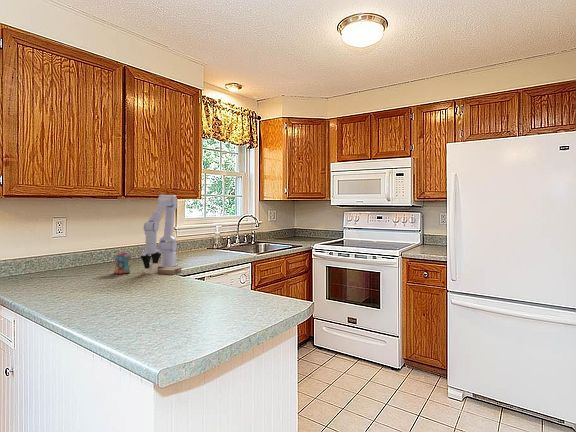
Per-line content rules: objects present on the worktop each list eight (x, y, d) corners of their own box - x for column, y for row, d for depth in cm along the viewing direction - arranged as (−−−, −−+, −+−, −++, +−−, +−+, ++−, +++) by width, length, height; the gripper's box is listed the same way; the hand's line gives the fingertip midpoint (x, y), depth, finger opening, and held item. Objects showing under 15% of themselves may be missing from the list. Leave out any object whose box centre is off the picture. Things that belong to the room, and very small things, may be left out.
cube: (149, 271, 207) (149, 263, 207) (157, 272, 206) (157, 263, 206) (144, 273, 203) (144, 264, 202) (152, 273, 201) (152, 264, 201)
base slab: (167, 270, 211) (167, 266, 210) (181, 271, 208) (181, 267, 208) (158, 273, 202) (158, 269, 202) (172, 274, 200) (172, 270, 200)
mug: (113, 275, 196) (113, 255, 195) (112, 272, 204) (112, 253, 203) (137, 273, 201) (137, 254, 201) (135, 270, 210) (135, 252, 209)
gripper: (152, 241, 212) (152, 264, 212) (136, 244, 198) (136, 268, 198) (163, 241, 210) (163, 265, 211) (148, 244, 196) (148, 269, 197)
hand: (151, 267), depth 204 cm, fingers open, 7 cm apart
